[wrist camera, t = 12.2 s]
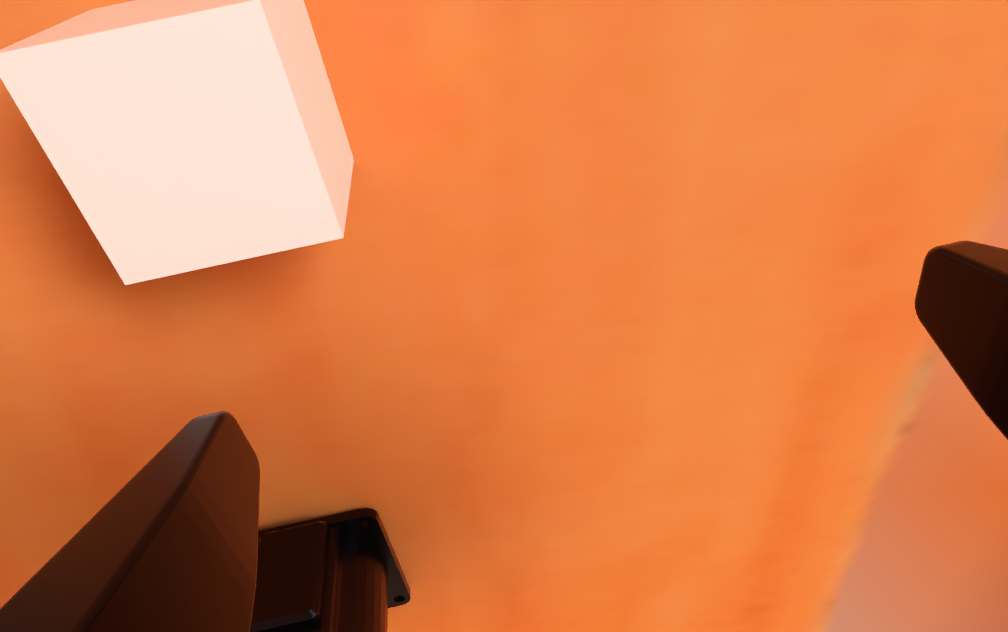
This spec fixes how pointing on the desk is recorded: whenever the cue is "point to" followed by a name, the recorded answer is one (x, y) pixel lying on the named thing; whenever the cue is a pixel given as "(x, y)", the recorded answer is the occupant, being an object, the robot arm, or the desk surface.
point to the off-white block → (188, 129)
